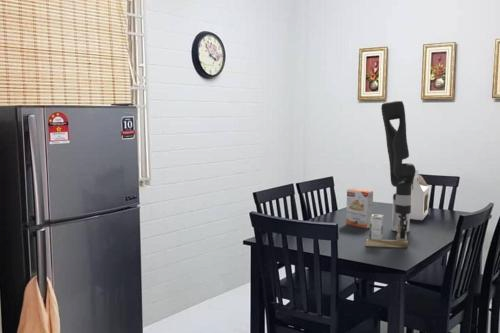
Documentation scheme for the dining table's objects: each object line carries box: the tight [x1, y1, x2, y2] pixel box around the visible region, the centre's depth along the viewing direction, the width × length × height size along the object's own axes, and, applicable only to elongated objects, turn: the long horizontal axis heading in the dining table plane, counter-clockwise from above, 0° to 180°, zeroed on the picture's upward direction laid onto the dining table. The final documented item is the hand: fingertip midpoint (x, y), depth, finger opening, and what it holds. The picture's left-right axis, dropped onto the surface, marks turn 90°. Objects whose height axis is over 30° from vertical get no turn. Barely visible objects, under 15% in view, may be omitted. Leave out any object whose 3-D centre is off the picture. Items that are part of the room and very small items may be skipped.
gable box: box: [410, 170, 430, 221], centre depth 314 cm, size 22×13×28 cm, turn 153°
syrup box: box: [368, 213, 385, 240], centre depth 250 cm, size 6×6×14 cm
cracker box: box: [345, 188, 374, 230], centre depth 287 cm, size 14×6×21 cm, turn 45°
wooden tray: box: [365, 227, 409, 249], centre depth 252 cm, size 16×20×8 cm
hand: (401, 237), depth 251 cm, fingers closed on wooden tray, 3 cm apart
